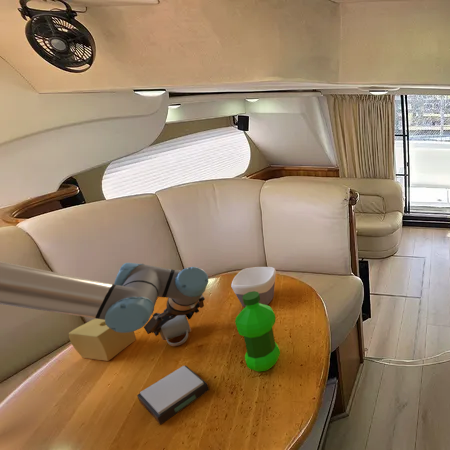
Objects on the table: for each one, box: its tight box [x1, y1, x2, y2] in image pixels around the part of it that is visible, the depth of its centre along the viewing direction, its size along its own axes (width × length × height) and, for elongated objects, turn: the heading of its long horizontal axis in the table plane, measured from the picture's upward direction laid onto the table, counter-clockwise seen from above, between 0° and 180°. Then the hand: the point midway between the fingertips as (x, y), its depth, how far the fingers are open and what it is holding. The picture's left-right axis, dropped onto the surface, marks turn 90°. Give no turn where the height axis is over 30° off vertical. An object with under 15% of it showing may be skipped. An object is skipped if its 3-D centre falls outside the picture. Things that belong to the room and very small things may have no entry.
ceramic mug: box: [159, 315, 192, 347], centre depth 104 cm, size 11×8×8 cm
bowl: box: [230, 266, 277, 308], centre depth 125 cm, size 15×15×11 cm
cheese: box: [68, 318, 137, 362], centre depth 99 cm, size 10×11×10 cm
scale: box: [136, 365, 210, 426], centre depth 84 cm, size 12×12×3 cm
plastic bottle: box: [234, 291, 281, 373], centre depth 91 cm, size 10×10×25 cm
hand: (171, 323), depth 106 cm, fingers closed on ceramic mug, 9 cm apart
